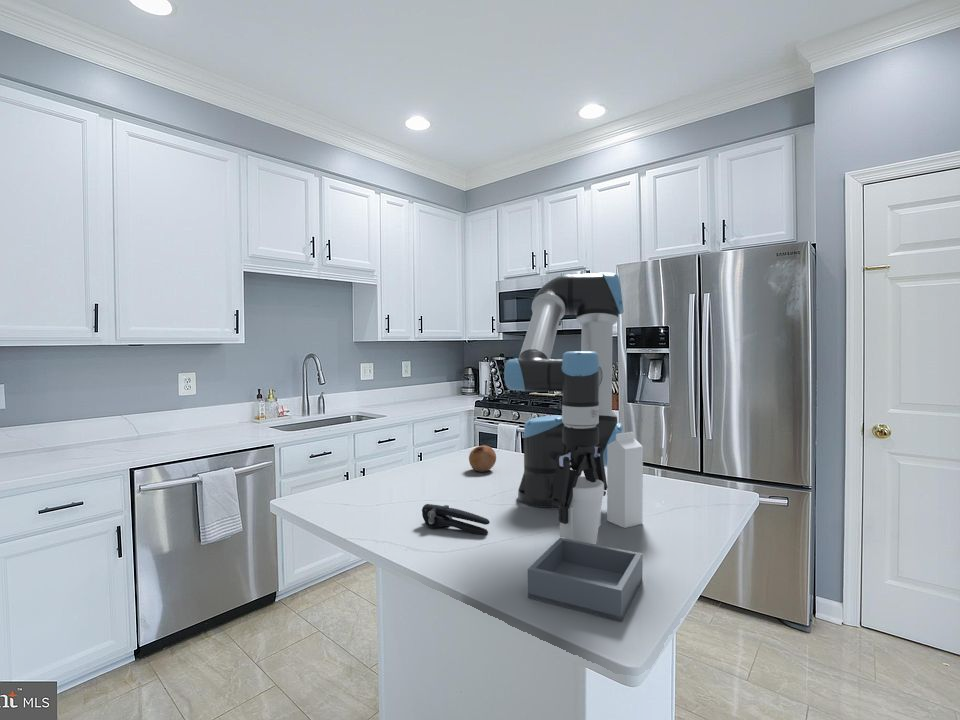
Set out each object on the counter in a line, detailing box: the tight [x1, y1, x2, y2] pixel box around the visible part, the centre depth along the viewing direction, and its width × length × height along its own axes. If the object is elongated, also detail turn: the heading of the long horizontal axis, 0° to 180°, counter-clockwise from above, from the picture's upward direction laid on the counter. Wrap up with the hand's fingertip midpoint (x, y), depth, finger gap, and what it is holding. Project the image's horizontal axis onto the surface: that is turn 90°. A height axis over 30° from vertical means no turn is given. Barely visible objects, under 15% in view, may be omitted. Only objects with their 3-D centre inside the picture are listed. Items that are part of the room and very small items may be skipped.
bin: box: [527, 537, 643, 623], centre depth 90 cm, size 16×16×5 cm
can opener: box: [421, 503, 491, 536], centre depth 120 cm, size 18×7×6 cm, turn 63°
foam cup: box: [564, 475, 605, 545], centre depth 106 cm, size 10×9×13 cm
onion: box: [468, 444, 497, 473], centre depth 175 cm, size 10×9×10 cm
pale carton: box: [606, 431, 644, 529], centre depth 123 cm, size 6×6×22 cm
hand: (580, 531), depth 107 cm, fingers closed on foam cup, 9 cm apart
